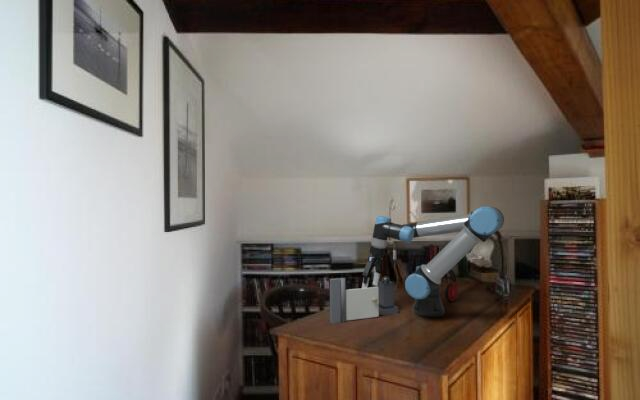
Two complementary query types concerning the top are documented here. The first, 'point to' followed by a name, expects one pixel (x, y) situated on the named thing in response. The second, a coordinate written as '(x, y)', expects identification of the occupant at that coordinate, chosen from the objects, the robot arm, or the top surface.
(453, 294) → the headphones
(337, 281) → the wall frame
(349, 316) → the door
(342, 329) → the top surface
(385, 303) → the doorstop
